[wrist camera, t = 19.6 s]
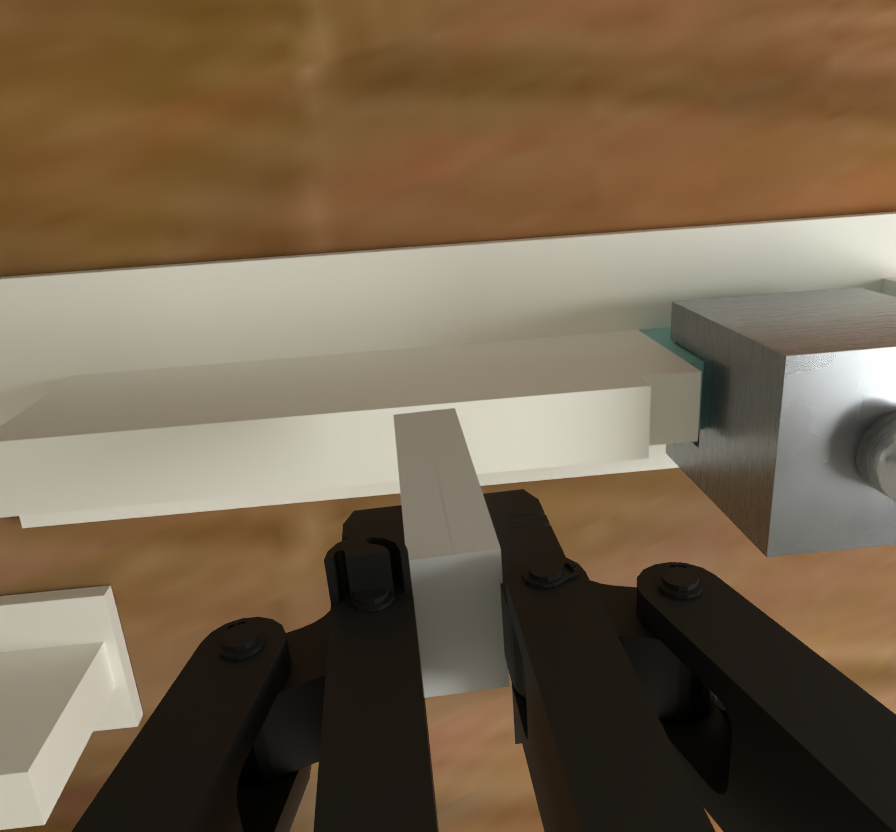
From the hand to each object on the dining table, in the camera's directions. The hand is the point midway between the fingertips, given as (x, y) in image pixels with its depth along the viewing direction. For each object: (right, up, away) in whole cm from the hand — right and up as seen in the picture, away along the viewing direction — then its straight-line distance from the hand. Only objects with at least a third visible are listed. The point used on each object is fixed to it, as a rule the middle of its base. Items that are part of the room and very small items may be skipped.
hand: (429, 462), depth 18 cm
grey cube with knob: (+12, +3, +10) cm, 16 cm away
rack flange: (0, +3, +12) cm, 12 cm away
